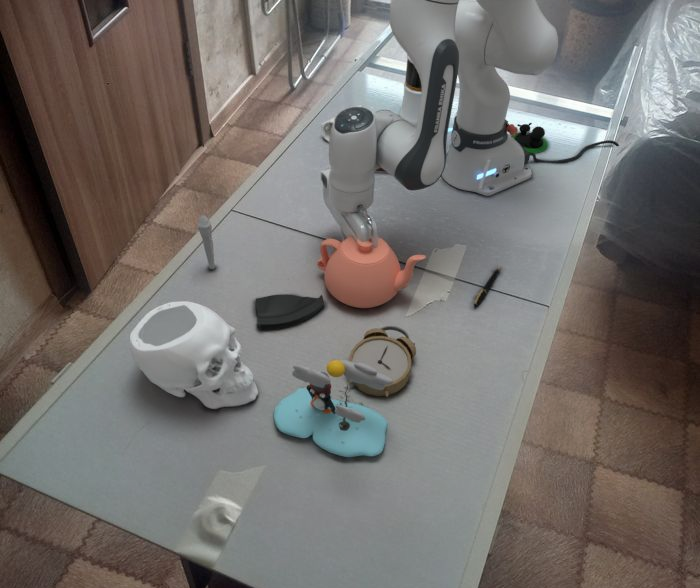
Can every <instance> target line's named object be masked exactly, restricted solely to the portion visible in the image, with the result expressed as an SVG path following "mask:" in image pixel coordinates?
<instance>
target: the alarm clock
mask: <svg viewBox="0 0 700 588" xmlns="http://www.w3.org/2000/svg"><path fill="white" fill-rule="evenodd" d="M386 331H395V332H398V333H401V334H402V335H404V336H399V337H397V338H396V339H395V338H393V337H389V336H388V333H387V332H386ZM415 345H416V342H413V341H412V339H411V338H410V336H409V333H408V332H407V331H406V330H405V329H403V328H401V327H399V326H396V325H386V326H382V327H380V328H378V327H377V328H371V329H368V330H367V331H366V332H365V333H364V335H363V339H362V340H361V341H359V342H357V343H356V344H355V345H354V347H353V348H352V349H351V351H350V354H349V357H348V361H351V362H354V363H364V364H367V365H369V366H371V367H373V368H374V369H376V370H377V373H381V374H383V375H385V376H387V377H389V378H391V379H392V381H393V382H392V384H390V385H385V387H384V389H383V390H378V389H374V388H371V387H368V386H367V385H365V384H360V383H355V382H352V381H350V380H348V385H351V384H353V385H354V386H355V387H356V388H357V389H358V390H359V391H362V392H364V393H366V394H367V395H372V396H375V397H382V396H385V397H386V398H388V397H389V396H390V395H392V394H395V393H398V392H399V391H400V390H401V389H403V388H405V386H406V384H407V383H408V381H409V378H410V375H411V368H412V367H411V366H412V360H413V359H414V358H415V357H416V354H417V348H416V346H415Z"/></svg>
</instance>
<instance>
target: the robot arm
mask: <svg viewBox="0 0 700 588" xmlns="http://www.w3.org/2000/svg"><path fill="white" fill-rule="evenodd" d="M389 26H390V30H391V32H392V34H393V37H394V39H395V40H396V42H397V43H398V45H399V46H400V48H401V49H402V50H403V51H404V52H405V53H406V56H407V55H408V56H409V58H410V59H411V61H412V62H413V64H414V66H415V68H416V70H417V72H418V74H419V77H420V80H421V86H422V93H421V100H420V107H419V113H418V120H417V127H415V126H413V125H412V124H410V123H409V122H408V121H406V120H405V119H403V118H402V117H400V116H399V115H398V114H397V113H395V112H393V111H391V110H389V109H381V110H378V111H371V110H370V109H368V108H365V107H363V106H362V107H356V106H353V107H348V108H346V109H343V110H342V111H340V112H338V114H336V116H334V117H335V119H334V122H333V125H332V128H331V133H330V140H329V142H328V162H329V166H330V168H327V169H323V170H321V171H320V181H321V182H322V197H323V202H324V205H325V206H326V208H327V209H328V211H329V213H330V214H331V216H332V217H333V219H334V221H335V222H336V223H337V225H338V226H339V228H340V233H341V237H342V242H343V241H344V240H345V239H347V238H348V237H350V236H352V237H353V239H354V240H355V242H356V243H357V240H358V238H359V240H360V241H361V242H365V241H370V240H373V241H374V243H373V245H372V247H371V249H372V248H376V247H378V237H379V233H378V232H379V231H378V227H377V224H376V222H375V220H374V218H373V217H372V215H371V213H369V211H368V210H367V209H369V208H370V207H371V206H372V204H373V202H374V193H375V182H376V181H375V180H376V179H375V173H376V172H375V170H377V169H379V168H382V169H384V170H385V171H387V172H388V173H387V174H390V175H391V176H392V177H393V178H395V180H396V181H397V182H398V183H400V184H401V185H402V186H403V187H404V188H405V189H406V190H408V191H420V190H424V189H427V188H430V187H431V186H433V185H435V184H436V183H437V182H438V181H439V180H440V178H442V179H443V180H444V181H445V182H446V183H447V184H449V185H450V186H452V187H453V188H456V189H459V190H462V191H466V192H474V193H477V194H479V195H482V196H486V197H489V196H493V195H495V194H497V193H499V192H502V191H504V190H506V189H509V188H511V187H514V186H515V185H518V184H520V183H522V182H525V181H527V180H529V179H531V178H532V169H531V167H530V165H529V162H530V157H532V159H533V161H534V162H536V163H545V164H561V163H567V162H570V161H574V160H577V159H578V158H580V156H582V154H583V153H584V152H585V151H586V150H588V149H590V148H593V147H596V146H600V145H605V144H612V145H614V146H616V147H620V145H619V143H618V142H617V141H616V140H611V139H609V140H601V141H598V142H597V141H596V142H594V143H591V144H587V145H586V146H584V147H583V148H582V149H581V150H580V151H579V152H578V153H577V154H575V156H572V157H567V158H564V159H558V160H543V159H539V158H537V155H536V153H530V152H527V151H526V150H525V149H524V148H523V147H522V145H521V144H519V143H518V142H517V141H516V140H515V139H513V138H512V137H511V136H514V135H515V134H516V133H518V132H519V128H518V126H515V125H514V124H513V123H511V124H510V123H509V121H508V120H507V119H506V118H507V113H508V109H509V105H510V101H511V91H510V88H509V86H508V84H507V82H506V81H505V80H504V79H503V77H501V76H500V74H499V73H498V70H497V69H499V70H502V71H505V72H508V73H511V74H515V75H522V76H523V75H524V76H535V77H536V76H539V75H541V74H542V73H544V72H545V71H547V70H548V68H549V67H550V66H551V65H552V63H553V62H554V60H555V59H556V57H557V53H558V50H559V37H558V35H559V34H558V32H557V28H556V27H555V26H554V25H553V24H552V23H551V22H550V21H548V19H547V18H546V17H545V16H544V14H543V12H542V10H541V9H540V7H539V5H538V2H537V1H536V0H390V5H389ZM457 82H458V83H459V93H458V95H459V96H458V105H457V112H456V115H455V117H454V119H453V124H452V127H449V126H450V122H451V116H452V110H453V104H454V98H455V93H456V87H457ZM450 132H451V136H450V137H451V139H450V140H451V141H450V142H451V143H450V145H449V148H448V151H447V140H448V133H450ZM357 245H358V243H357Z"/></svg>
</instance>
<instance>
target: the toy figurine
mask: <svg viewBox="0 0 700 588" xmlns="http://www.w3.org/2000/svg"><path fill="white" fill-rule="evenodd" d="M532 124H533V123H532V122H529V123H528V124H527V123H524V124H519V123H518V124H516V127H519V128H518V131H519V132H517V133H516V134H515V135H514V136H512V135H510V136H511V137H512V138H513V139H515V140H516V141H517V142H518V143H519V144H521V145H522V147H523V148H524V149H525V150H526V151H527V152H530V153H534V154H537V153H542V152H544V151H545V150H547V149H548V145H549V144H548V141H547V140H546V139H545V138H544V136H545V135H546V131H545V129H544V127H542V126H538V125H537V126H535V127H533V129H532V131H531V125H532Z"/></svg>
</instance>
